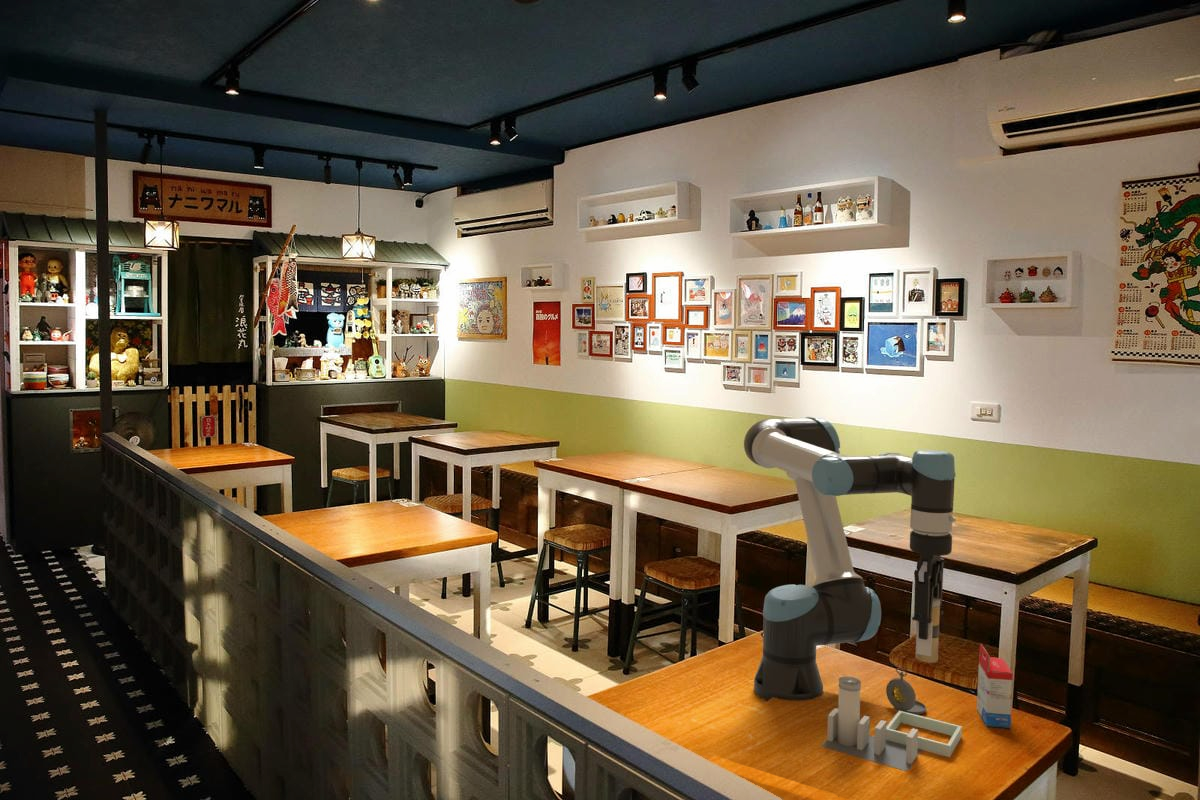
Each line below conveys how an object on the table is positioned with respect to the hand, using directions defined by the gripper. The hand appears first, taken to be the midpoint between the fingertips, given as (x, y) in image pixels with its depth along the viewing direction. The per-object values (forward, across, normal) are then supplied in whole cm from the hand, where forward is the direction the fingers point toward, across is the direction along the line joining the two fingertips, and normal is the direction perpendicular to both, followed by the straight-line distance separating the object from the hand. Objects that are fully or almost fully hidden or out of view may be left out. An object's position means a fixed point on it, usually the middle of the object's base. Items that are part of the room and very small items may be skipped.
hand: (926, 650), depth 163 cm
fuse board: (+19, -10, +7) cm, 23 cm away
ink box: (+19, +21, -9) cm, 30 cm away
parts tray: (+19, 0, 0) cm, 19 cm away
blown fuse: (+2, 0, 0) cm, 2 cm away
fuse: (+18, -10, +12) cm, 23 cm away
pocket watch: (+19, +14, +7) cm, 25 cm away
